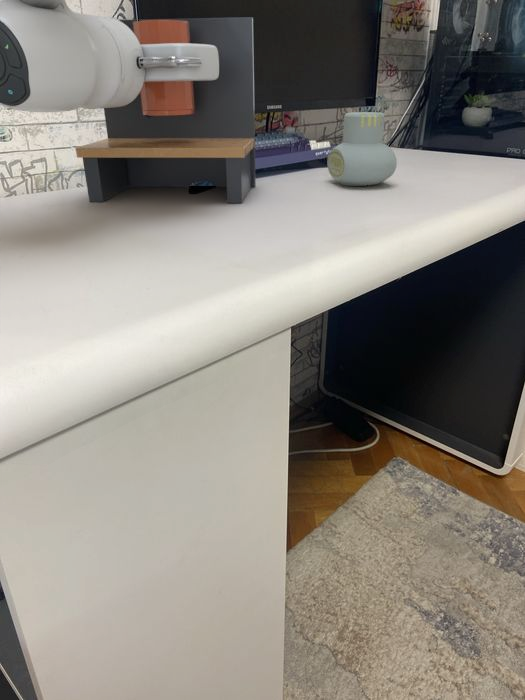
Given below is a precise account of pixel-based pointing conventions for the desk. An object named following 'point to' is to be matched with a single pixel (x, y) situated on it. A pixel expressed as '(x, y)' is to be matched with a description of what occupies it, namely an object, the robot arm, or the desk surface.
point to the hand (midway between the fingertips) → (167, 65)
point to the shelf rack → (186, 127)
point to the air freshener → (362, 151)
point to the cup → (165, 94)
